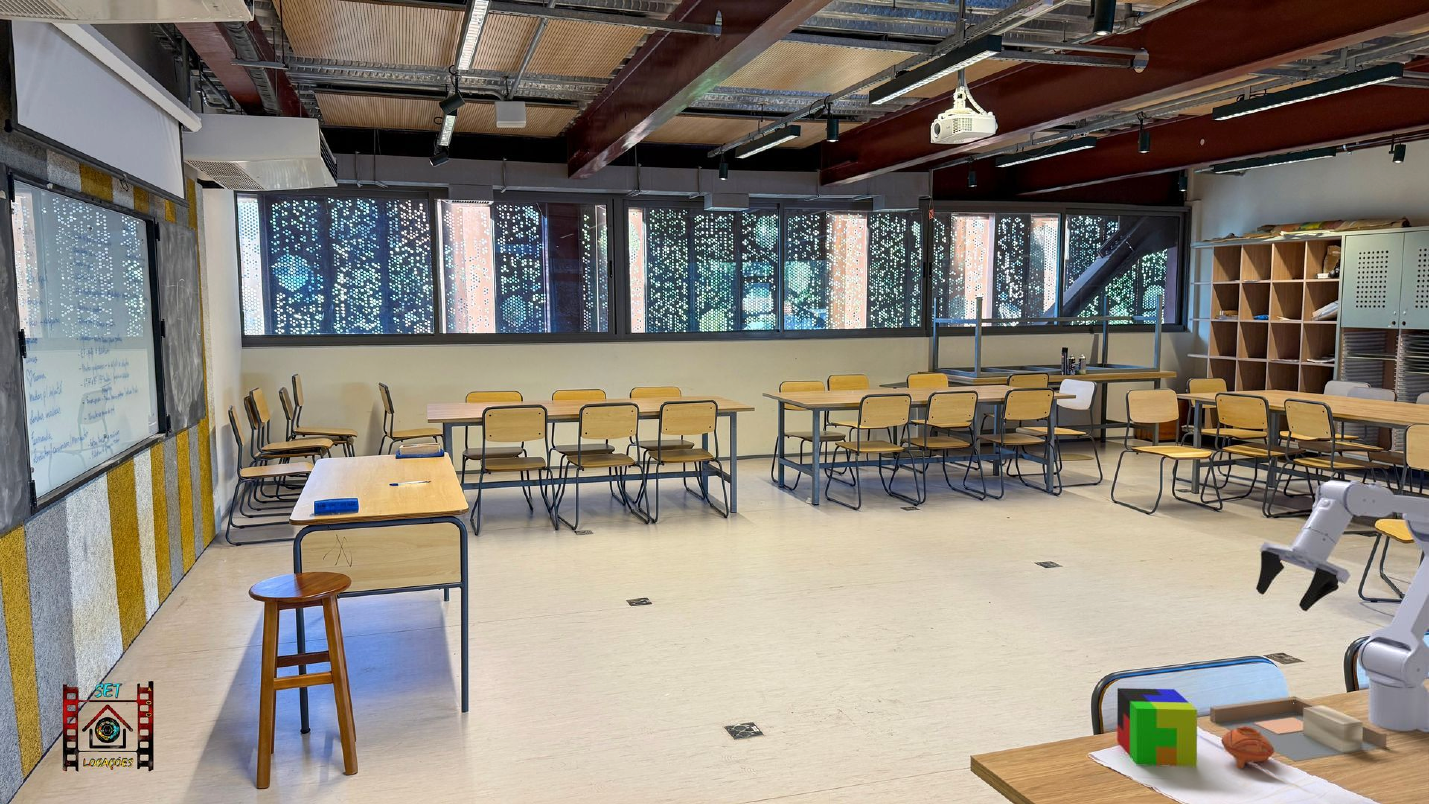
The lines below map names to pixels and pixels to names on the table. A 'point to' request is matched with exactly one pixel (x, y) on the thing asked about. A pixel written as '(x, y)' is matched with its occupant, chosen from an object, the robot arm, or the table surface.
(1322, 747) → the tray
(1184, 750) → the puzzle toy
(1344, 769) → the table surface
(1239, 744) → the pot
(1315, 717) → the birch block
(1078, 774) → the table surface
